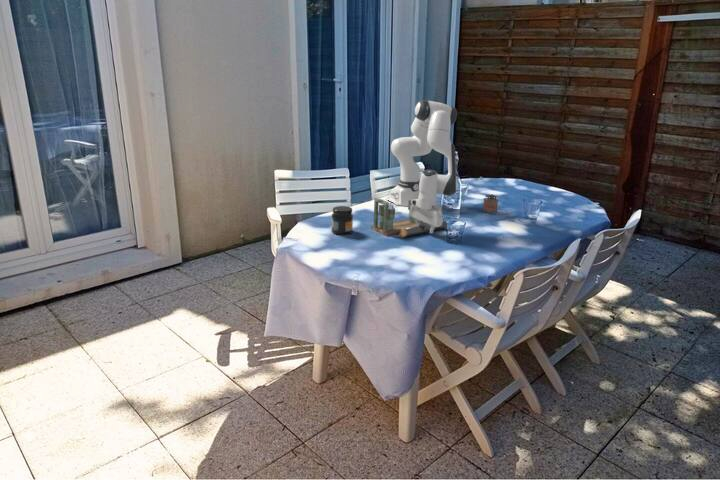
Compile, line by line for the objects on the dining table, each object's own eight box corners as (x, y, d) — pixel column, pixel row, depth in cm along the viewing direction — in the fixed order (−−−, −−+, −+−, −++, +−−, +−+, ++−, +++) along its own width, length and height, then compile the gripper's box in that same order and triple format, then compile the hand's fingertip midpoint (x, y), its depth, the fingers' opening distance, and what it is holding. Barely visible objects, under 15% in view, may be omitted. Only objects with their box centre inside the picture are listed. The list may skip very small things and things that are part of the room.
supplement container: (357, 232, 272) (357, 208, 268) (342, 236, 265) (342, 213, 261) (342, 227, 279) (342, 204, 275) (327, 231, 272) (327, 208, 268)
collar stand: (370, 229, 278) (372, 197, 272) (413, 220, 293) (415, 190, 287) (386, 236, 267) (388, 203, 262) (430, 227, 283) (432, 196, 277)
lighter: (496, 211, 314) (498, 194, 311) (497, 212, 311) (499, 195, 308) (482, 210, 315) (484, 193, 311) (482, 212, 312) (484, 194, 308)
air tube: (404, 235, 263) (401, 227, 264) (400, 239, 267) (397, 231, 268) (448, 226, 279) (445, 219, 280) (443, 230, 282) (440, 222, 283)
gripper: (446, 208, 261) (444, 235, 266) (418, 198, 277) (416, 224, 282) (436, 209, 258) (434, 237, 263) (408, 199, 274) (407, 226, 278)
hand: (425, 230), depth 272 cm, fingers open, 7 cm apart
